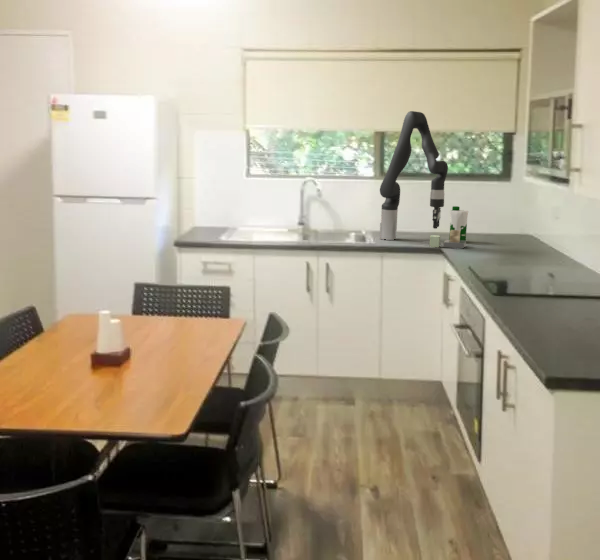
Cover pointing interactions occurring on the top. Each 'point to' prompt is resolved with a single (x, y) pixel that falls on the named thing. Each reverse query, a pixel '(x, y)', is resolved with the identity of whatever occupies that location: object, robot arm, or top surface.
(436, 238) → the sage block
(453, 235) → the maple block
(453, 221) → the soya milk
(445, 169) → the robot arm
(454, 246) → the slate base
